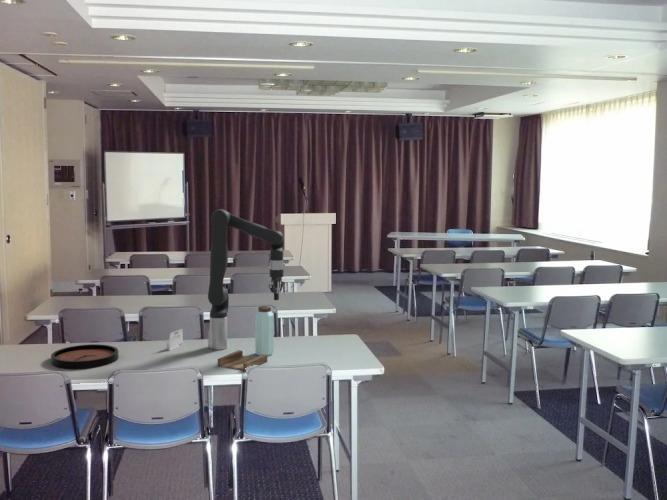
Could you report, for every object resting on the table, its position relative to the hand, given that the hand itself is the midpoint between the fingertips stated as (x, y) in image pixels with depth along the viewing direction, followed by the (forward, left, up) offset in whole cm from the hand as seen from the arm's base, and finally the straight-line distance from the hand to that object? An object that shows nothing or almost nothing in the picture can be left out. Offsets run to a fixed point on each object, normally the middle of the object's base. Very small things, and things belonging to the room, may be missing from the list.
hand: (276, 299), depth 337 cm
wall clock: (-72, -65, -28) cm, 101 cm away
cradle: (0, -32, -27) cm, 42 cm away
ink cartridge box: (-48, -26, -27) cm, 61 cm away
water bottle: (0, -12, -27) cm, 30 cm away
